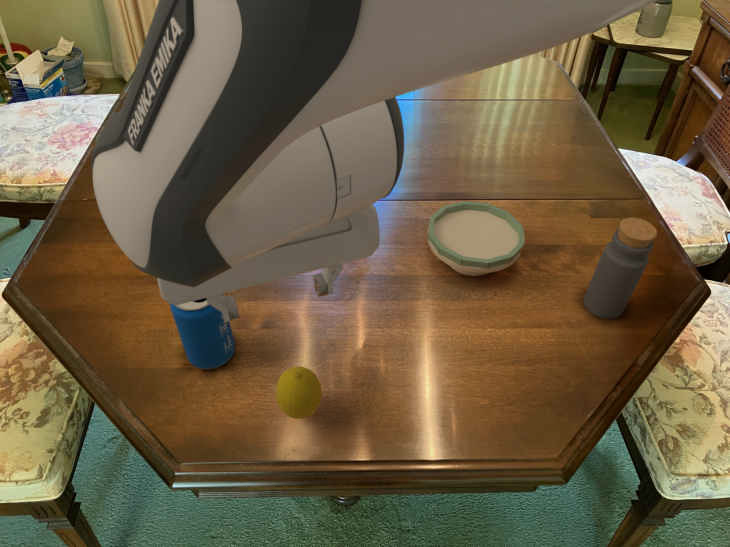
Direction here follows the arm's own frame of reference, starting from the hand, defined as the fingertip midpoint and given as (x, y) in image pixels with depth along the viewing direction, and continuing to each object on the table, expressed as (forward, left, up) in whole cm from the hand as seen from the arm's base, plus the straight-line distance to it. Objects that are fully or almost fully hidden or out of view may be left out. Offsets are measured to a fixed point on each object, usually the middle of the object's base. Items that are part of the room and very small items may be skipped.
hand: (278, 303), depth 55 cm
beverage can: (+13, +8, -21) cm, 26 cm away
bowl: (+18, -35, -21) cm, 45 cm away
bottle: (+2, -49, -21) cm, 53 cm away
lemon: (0, -1, -21) cm, 21 cm away
